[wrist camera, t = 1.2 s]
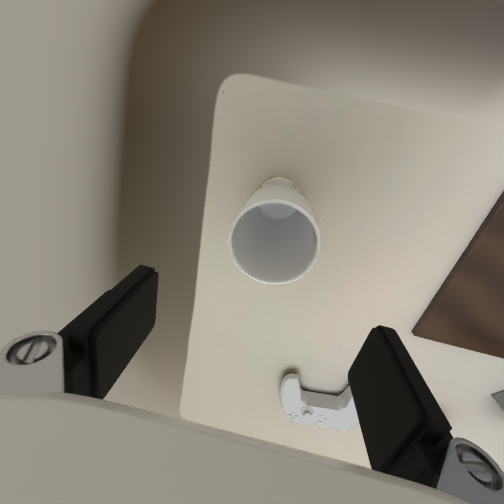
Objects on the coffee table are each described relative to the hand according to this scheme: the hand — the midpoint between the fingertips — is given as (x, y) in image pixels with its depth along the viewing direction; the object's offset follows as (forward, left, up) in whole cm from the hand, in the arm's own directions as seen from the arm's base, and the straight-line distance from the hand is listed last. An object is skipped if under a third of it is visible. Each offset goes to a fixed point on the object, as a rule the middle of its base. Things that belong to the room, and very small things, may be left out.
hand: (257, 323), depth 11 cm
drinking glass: (0, 0, -23) cm, 23 cm away
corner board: (-14, +28, -23) cm, 39 cm away
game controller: (+18, +30, -23) cm, 42 cm away
